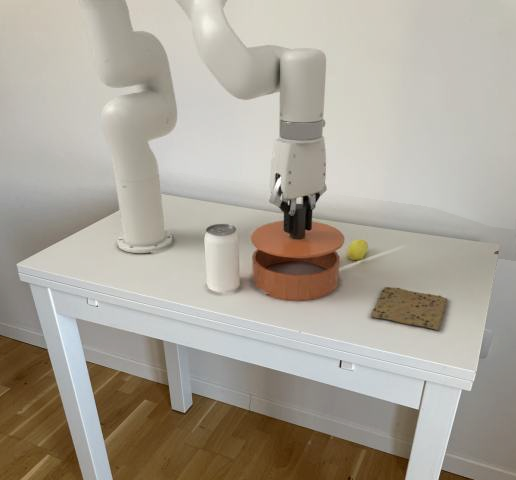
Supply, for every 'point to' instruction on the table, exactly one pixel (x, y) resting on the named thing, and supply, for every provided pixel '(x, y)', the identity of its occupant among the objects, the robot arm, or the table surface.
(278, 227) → the lid
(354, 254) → the lemon
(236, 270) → the can
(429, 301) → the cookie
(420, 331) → the table surface
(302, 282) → the pot
